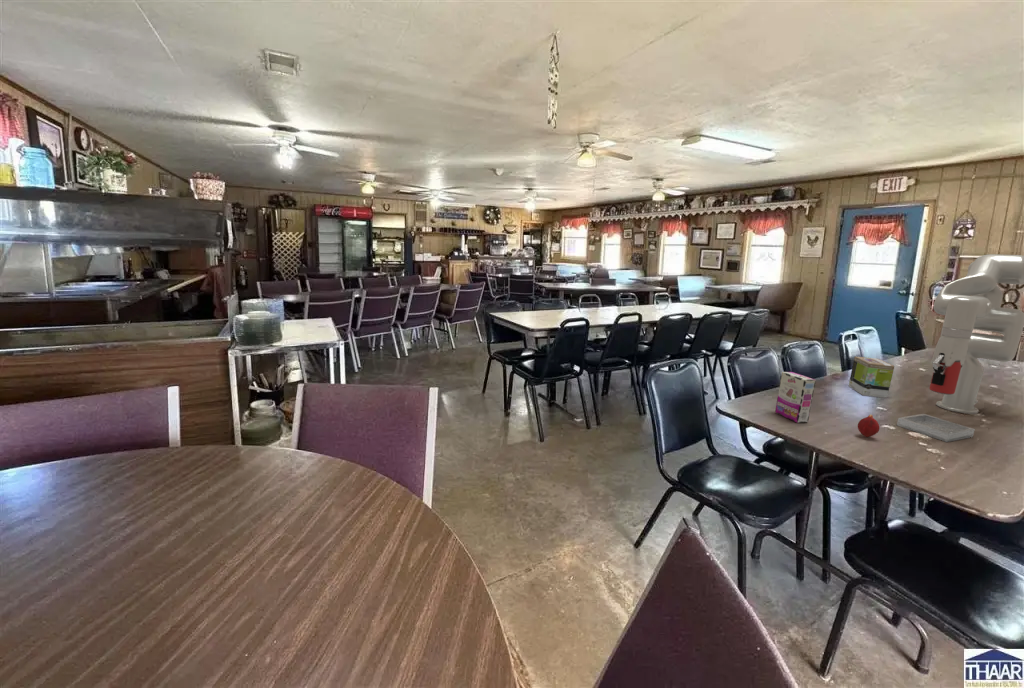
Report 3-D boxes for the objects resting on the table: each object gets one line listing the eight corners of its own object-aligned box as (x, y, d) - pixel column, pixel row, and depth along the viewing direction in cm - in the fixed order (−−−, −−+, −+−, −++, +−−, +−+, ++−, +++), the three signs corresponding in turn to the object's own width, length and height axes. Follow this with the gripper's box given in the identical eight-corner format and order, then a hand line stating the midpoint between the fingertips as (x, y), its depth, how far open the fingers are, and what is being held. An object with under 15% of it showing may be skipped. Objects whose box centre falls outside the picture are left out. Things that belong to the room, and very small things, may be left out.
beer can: (955, 396, 156) (964, 362, 153) (929, 392, 160) (937, 359, 157) (953, 392, 161) (961, 359, 159) (928, 387, 165) (935, 355, 162)
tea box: (888, 398, 199) (895, 365, 196) (861, 395, 201) (868, 363, 198) (872, 388, 213) (879, 357, 210) (847, 386, 216) (853, 355, 212)
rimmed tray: (922, 421, 173) (924, 413, 172) (972, 437, 159) (974, 429, 158) (896, 425, 167) (898, 417, 167) (946, 442, 154) (948, 433, 153)
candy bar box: (809, 422, 167) (817, 379, 163) (797, 423, 166) (805, 380, 162) (785, 411, 178) (792, 371, 174) (774, 412, 177) (781, 371, 173)
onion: (877, 442, 152) (883, 419, 150) (856, 437, 155) (861, 415, 153) (875, 436, 157) (880, 414, 155) (854, 432, 160) (859, 410, 158)
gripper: (958, 330, 162) (946, 379, 166) (927, 332, 157) (915, 382, 160) (985, 334, 156) (972, 385, 159) (953, 336, 150) (940, 389, 154)
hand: (943, 383), depth 160 cm, fingers closed on beer can, 6 cm apart
